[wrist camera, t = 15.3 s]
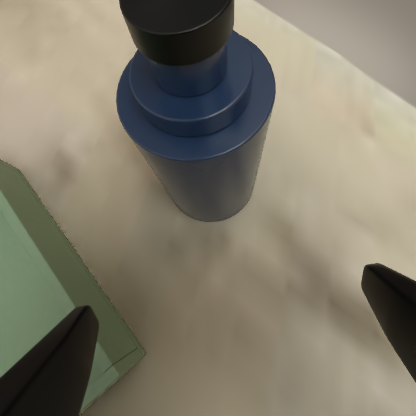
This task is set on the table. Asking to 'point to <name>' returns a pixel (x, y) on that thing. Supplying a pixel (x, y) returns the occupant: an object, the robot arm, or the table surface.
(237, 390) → the table surface
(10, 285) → the bin
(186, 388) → the table surface
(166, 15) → the bottle
